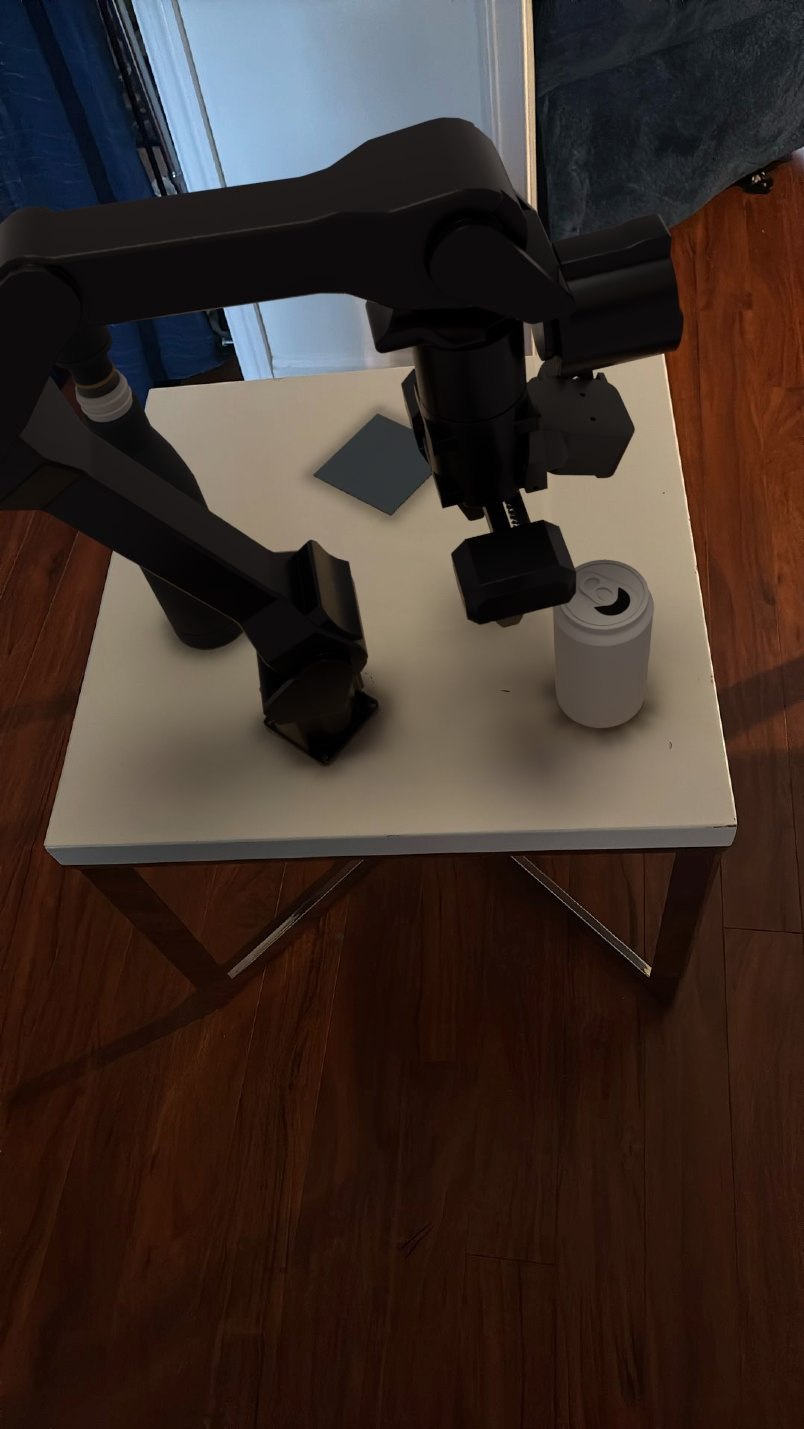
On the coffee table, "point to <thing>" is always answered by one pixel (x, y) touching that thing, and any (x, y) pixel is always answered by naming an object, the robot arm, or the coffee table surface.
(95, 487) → the robot arm
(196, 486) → the wine bottle
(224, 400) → the coffee table surface
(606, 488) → the coffee table surface
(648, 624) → the beverage can
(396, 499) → the felt pad
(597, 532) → the coffee table surface
